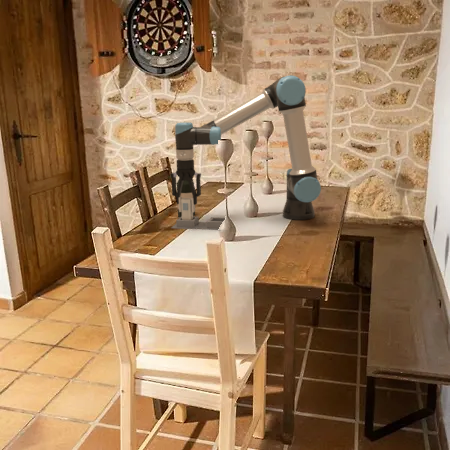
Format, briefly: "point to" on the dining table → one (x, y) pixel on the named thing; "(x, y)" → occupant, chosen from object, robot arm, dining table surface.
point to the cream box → (186, 209)
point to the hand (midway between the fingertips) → (187, 211)
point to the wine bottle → (185, 194)
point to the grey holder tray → (199, 223)
